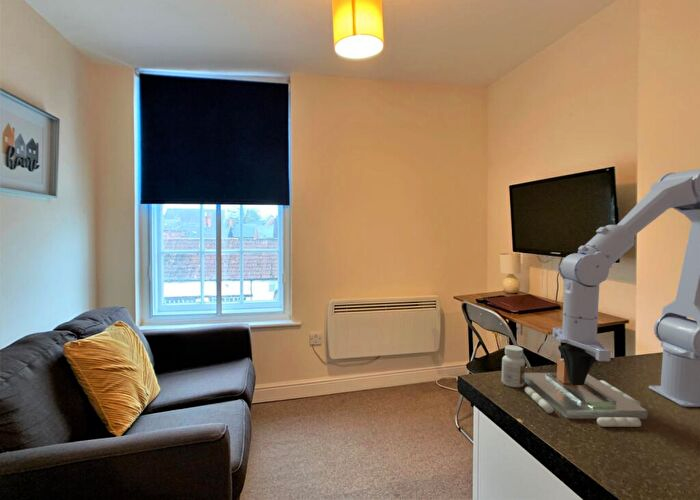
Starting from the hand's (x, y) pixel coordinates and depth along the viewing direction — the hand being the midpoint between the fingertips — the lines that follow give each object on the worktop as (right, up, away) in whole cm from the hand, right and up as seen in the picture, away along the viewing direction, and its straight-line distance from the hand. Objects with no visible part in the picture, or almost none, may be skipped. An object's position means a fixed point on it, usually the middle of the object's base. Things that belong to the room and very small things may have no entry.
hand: (576, 383), depth 71 cm
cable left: (+1, -3, -11) cm, 11 cm away
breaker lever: (0, 0, +3) cm, 3 cm away
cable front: (-9, -3, -3) cm, 10 cm away
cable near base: (+8, -3, 0) cm, 8 cm away
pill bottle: (-10, -2, +6) cm, 12 cm away
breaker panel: (0, -2, 0) cm, 2 cm away
